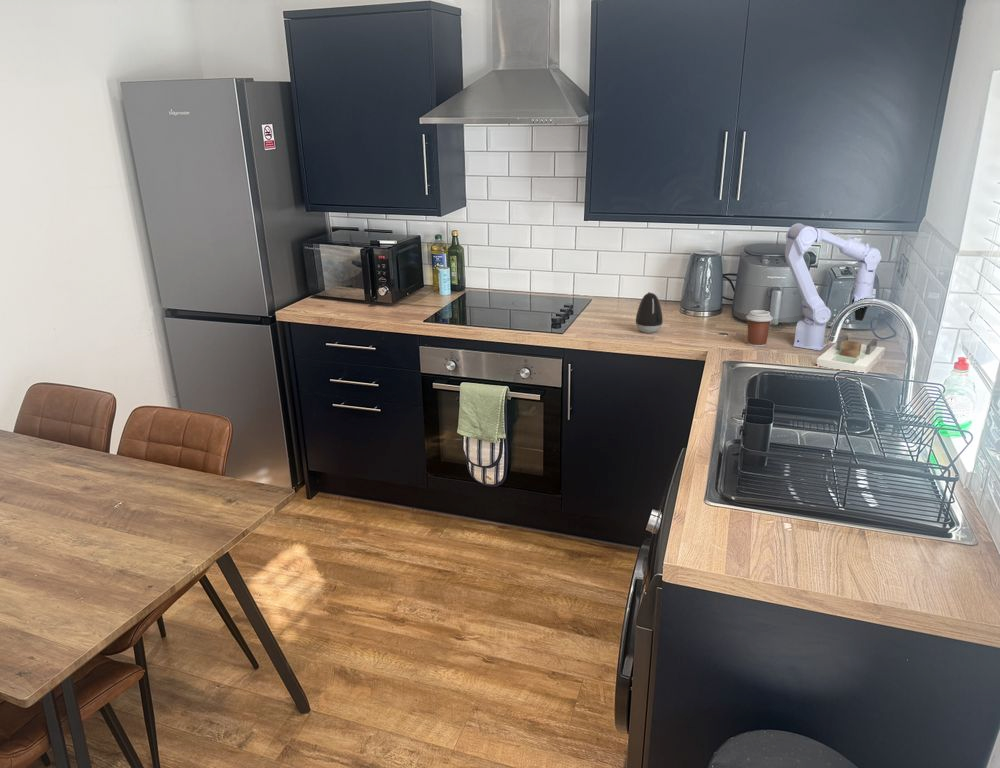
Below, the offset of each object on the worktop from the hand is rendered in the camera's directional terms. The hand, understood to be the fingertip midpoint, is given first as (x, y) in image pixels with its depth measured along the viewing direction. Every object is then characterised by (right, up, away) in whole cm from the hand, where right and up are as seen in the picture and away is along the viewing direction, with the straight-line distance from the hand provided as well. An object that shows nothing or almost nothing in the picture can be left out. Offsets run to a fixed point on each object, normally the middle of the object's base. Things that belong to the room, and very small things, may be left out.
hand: (859, 320), depth 259 cm
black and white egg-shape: (-69, -2, +25) cm, 74 cm away
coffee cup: (-34, -8, +7) cm, 35 cm away
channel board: (-9, -15, -13) cm, 21 cm away
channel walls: (-6, -11, -9) cm, 15 cm away
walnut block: (-11, -13, -15) cm, 23 cm away
